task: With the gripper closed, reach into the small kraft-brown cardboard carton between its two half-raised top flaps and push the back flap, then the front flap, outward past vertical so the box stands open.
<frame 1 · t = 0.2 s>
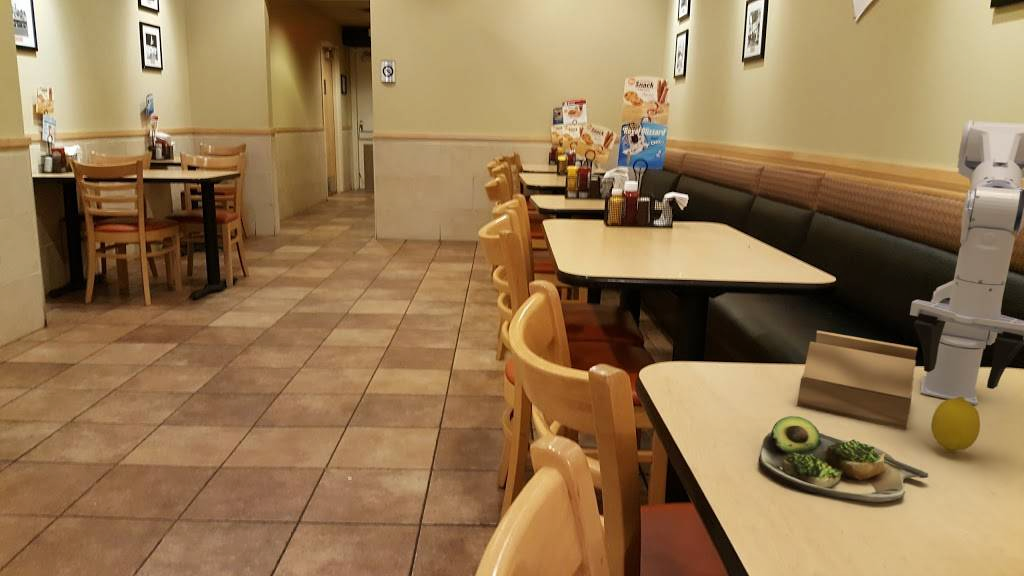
hand: (959, 378, 100), 10 cm above the table, fingers open, 7 cm apart
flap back: (863, 352, 118), point 7 cm above the table, hinge at 60.0°
lemon: (949, 453, 100), on the table
flap front: (858, 369, 110), point 7 cm above the table, hinge at 60.0°
avocado toast plate: (823, 471, 94), on the table
carton: (853, 404, 116), on the table
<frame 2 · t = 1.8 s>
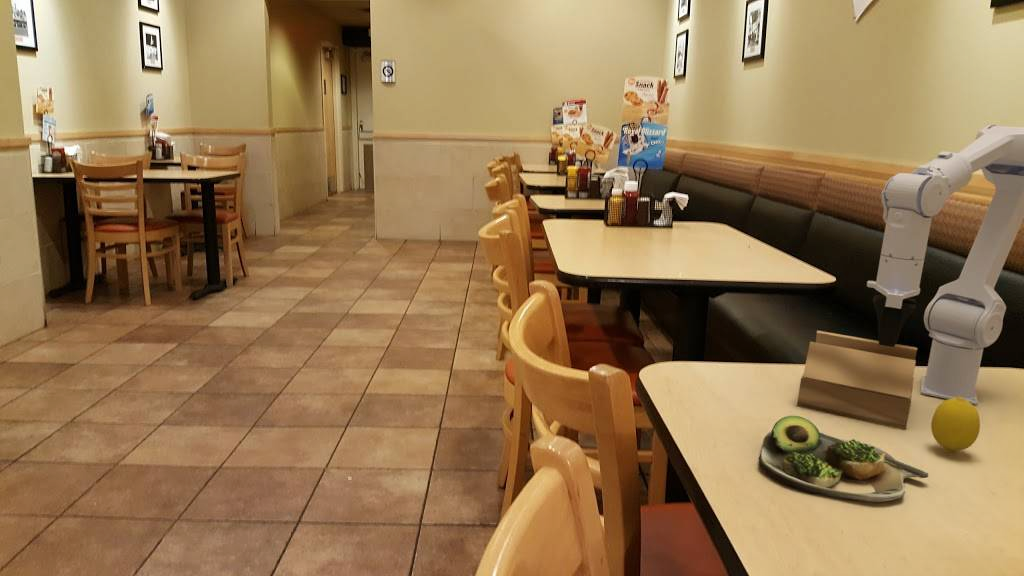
hand: (886, 344, 112), 10 cm above the table, fingers closed
nothing on the table moved.
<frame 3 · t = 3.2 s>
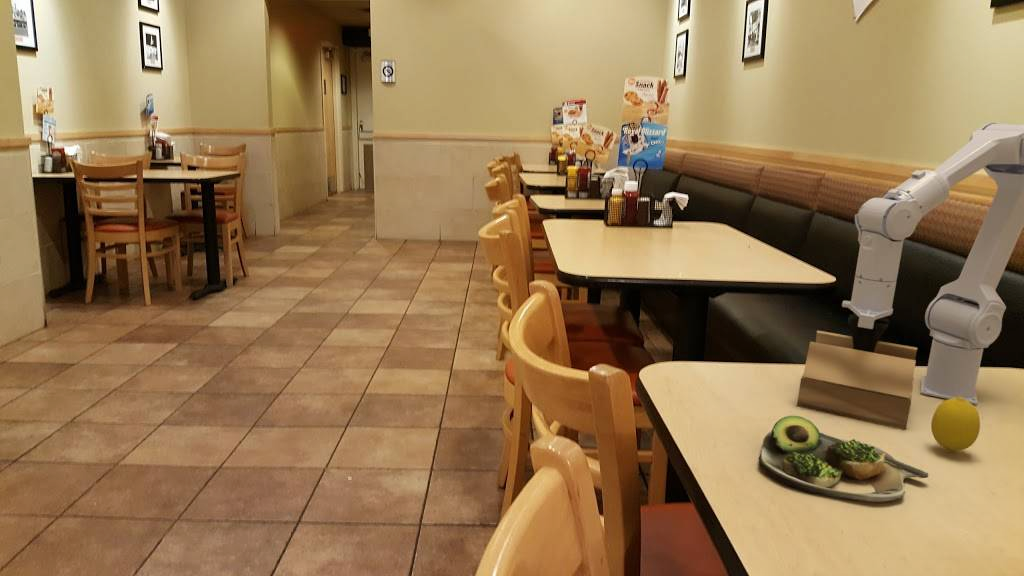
hand: (861, 362, 116), 6 cm above the table, fingers closed
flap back: (863, 352, 118), point 7 cm above the table, hinge at 60.1°, touching gripper
everything else where it was.
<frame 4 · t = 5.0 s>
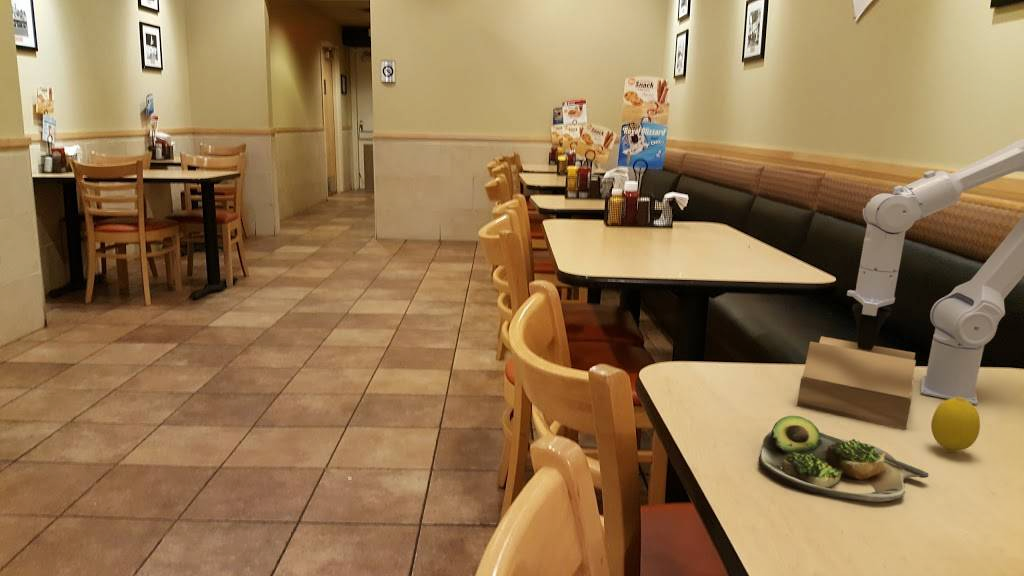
hand: (864, 348, 123), 7 cm above the table, fingers closed, pressing on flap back
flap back: (864, 356, 122), point 6 cm above the table, hinge at 155.5°, touching gripper
everything else where it was.
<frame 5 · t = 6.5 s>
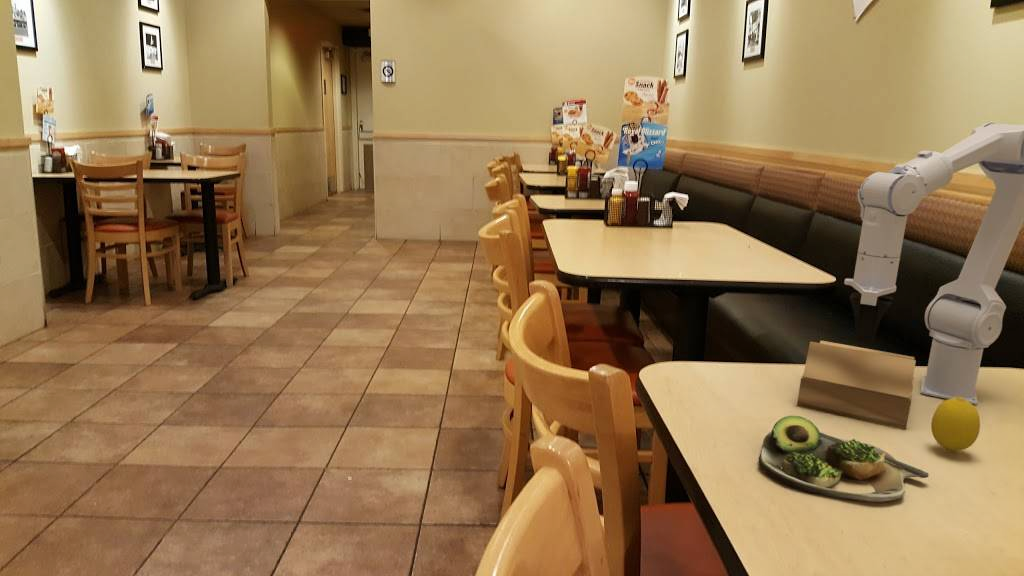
hand: (864, 341, 113), 10 cm above the table, fingers closed
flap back: (864, 358, 122), point 5 cm above the table, hinge at 164.1°
everything else where it was.
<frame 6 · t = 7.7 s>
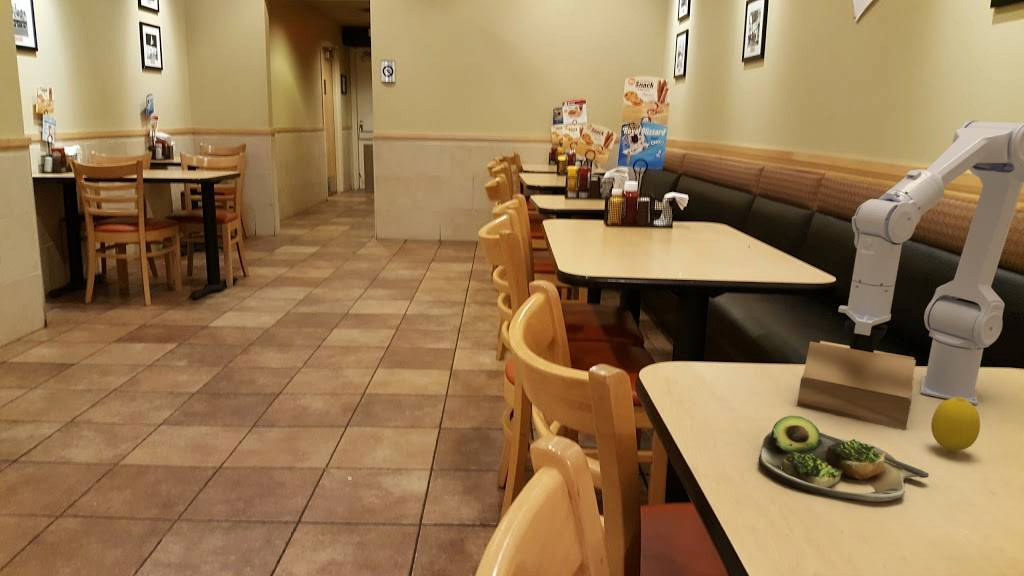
hand: (858, 369, 112), 7 cm above the table, fingers closed, pressing on flap front
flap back: (864, 358, 122), point 5 cm above the table, hinge at 164.9°
flap front: (858, 369, 110), point 7 cm above the table, hinge at 60.5°, touching gripper
everything else where it was.
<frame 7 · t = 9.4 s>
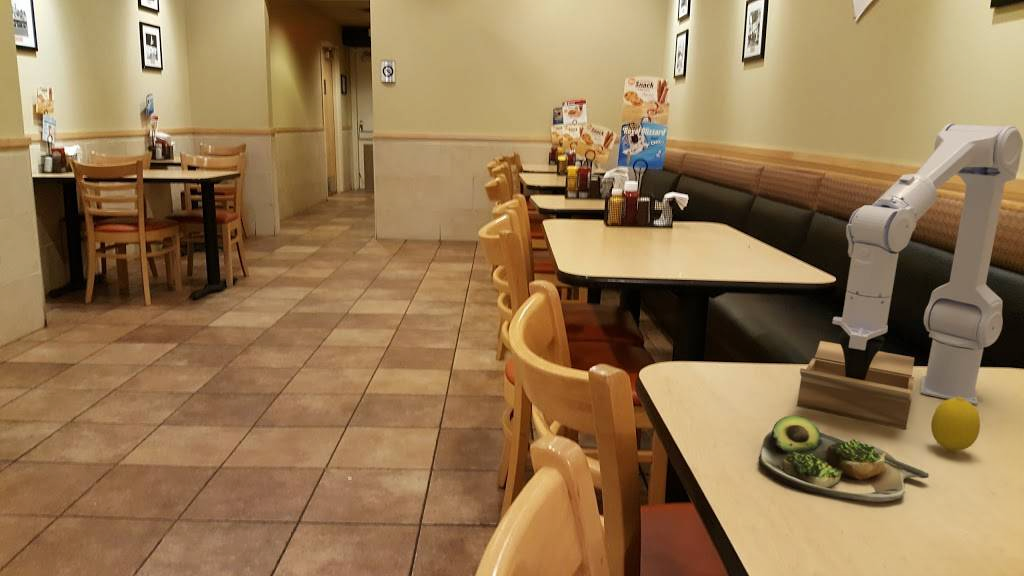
hand: (854, 384, 107), 6 cm above the table, fingers closed, pressing on flap front
flap front: (853, 385, 107), point 6 cm above the table, hinge at 148.3°, touching gripper
everything else where it was.
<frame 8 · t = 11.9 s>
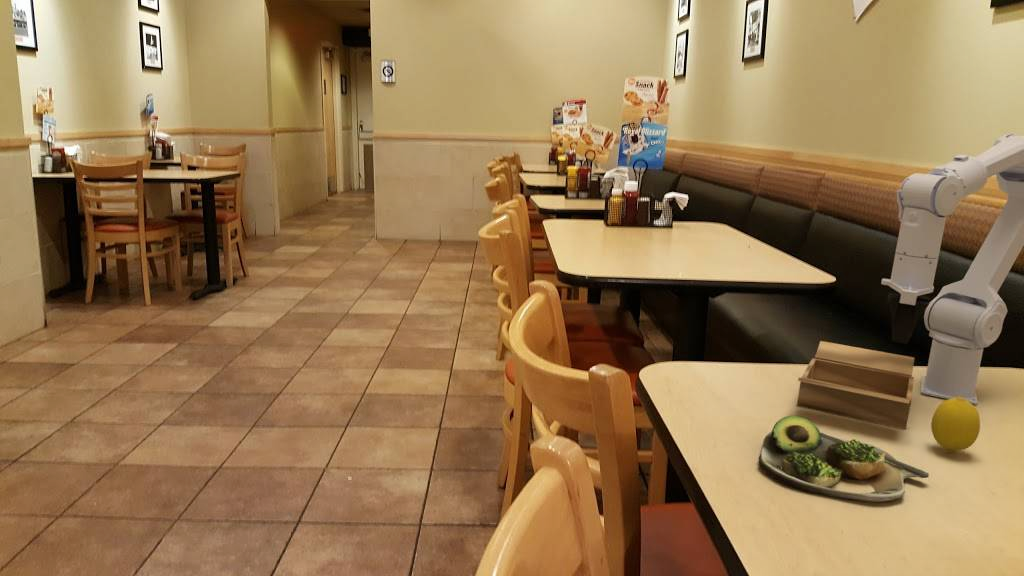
hand: (900, 341, 114), 10 cm above the table, fingers closed
flap front: (853, 390, 107), point 5 cm above the table, hinge at 162.1°
everything else where it was.
at the end: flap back at +165° (first picture: +60°); flap front at +162° (first picture: +60°); lemon moved 0.2 cm from its start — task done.
